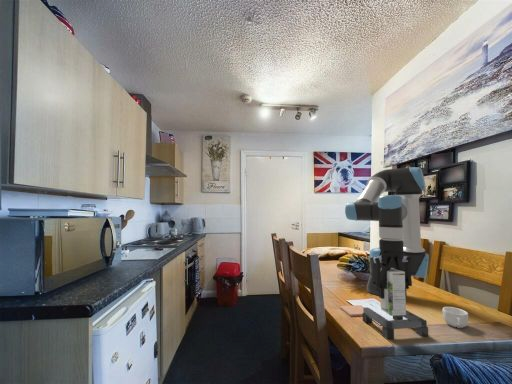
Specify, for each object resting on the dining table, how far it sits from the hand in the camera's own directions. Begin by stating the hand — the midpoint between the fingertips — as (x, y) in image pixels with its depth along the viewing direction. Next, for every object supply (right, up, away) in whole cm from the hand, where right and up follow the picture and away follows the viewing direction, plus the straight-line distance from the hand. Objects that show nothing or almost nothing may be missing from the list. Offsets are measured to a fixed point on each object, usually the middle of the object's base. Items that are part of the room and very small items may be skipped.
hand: (392, 307), depth 87 cm
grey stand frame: (+3, -10, +6) cm, 12 cm away
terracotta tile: (-4, -11, +21) cm, 24 cm away
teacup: (+28, -11, +8) cm, 31 cm away
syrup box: (0, -2, 0) cm, 2 cm away
